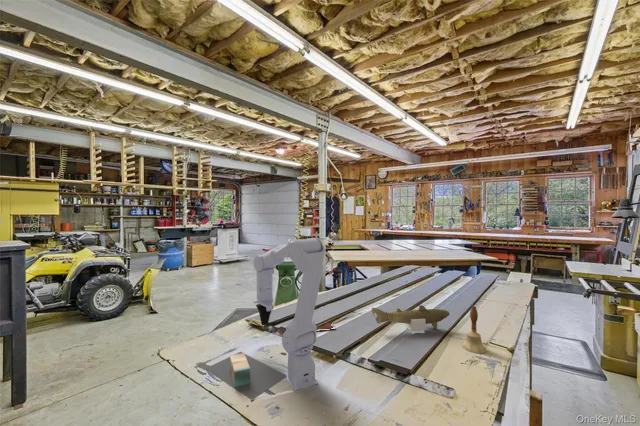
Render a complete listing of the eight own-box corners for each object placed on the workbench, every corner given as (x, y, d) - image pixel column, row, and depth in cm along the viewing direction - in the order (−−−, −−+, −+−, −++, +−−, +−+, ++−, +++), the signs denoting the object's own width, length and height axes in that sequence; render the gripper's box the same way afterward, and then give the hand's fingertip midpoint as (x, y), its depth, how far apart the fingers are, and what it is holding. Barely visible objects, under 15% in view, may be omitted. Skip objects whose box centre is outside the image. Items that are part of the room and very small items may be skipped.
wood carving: (368, 329, 125) (368, 303, 125) (442, 324, 130) (442, 300, 130) (374, 338, 116) (374, 311, 116) (454, 333, 121) (454, 307, 121)
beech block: (244, 366, 95) (250, 383, 86) (230, 369, 93) (234, 387, 84) (244, 352, 95) (250, 368, 86) (229, 355, 93) (234, 372, 84)
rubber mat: (287, 377, 90) (287, 375, 90) (251, 401, 79) (251, 399, 79) (240, 353, 105) (240, 351, 105) (204, 370, 94) (204, 368, 94)
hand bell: (463, 351, 106) (464, 309, 106) (460, 341, 114) (460, 301, 114) (489, 355, 104) (490, 311, 103) (483, 344, 112) (484, 304, 111)
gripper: (249, 283, 110) (249, 318, 110) (258, 294, 96) (258, 334, 97) (267, 281, 113) (267, 315, 113) (278, 291, 99) (278, 330, 100)
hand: (264, 324), depth 105 cm, fingers closed
